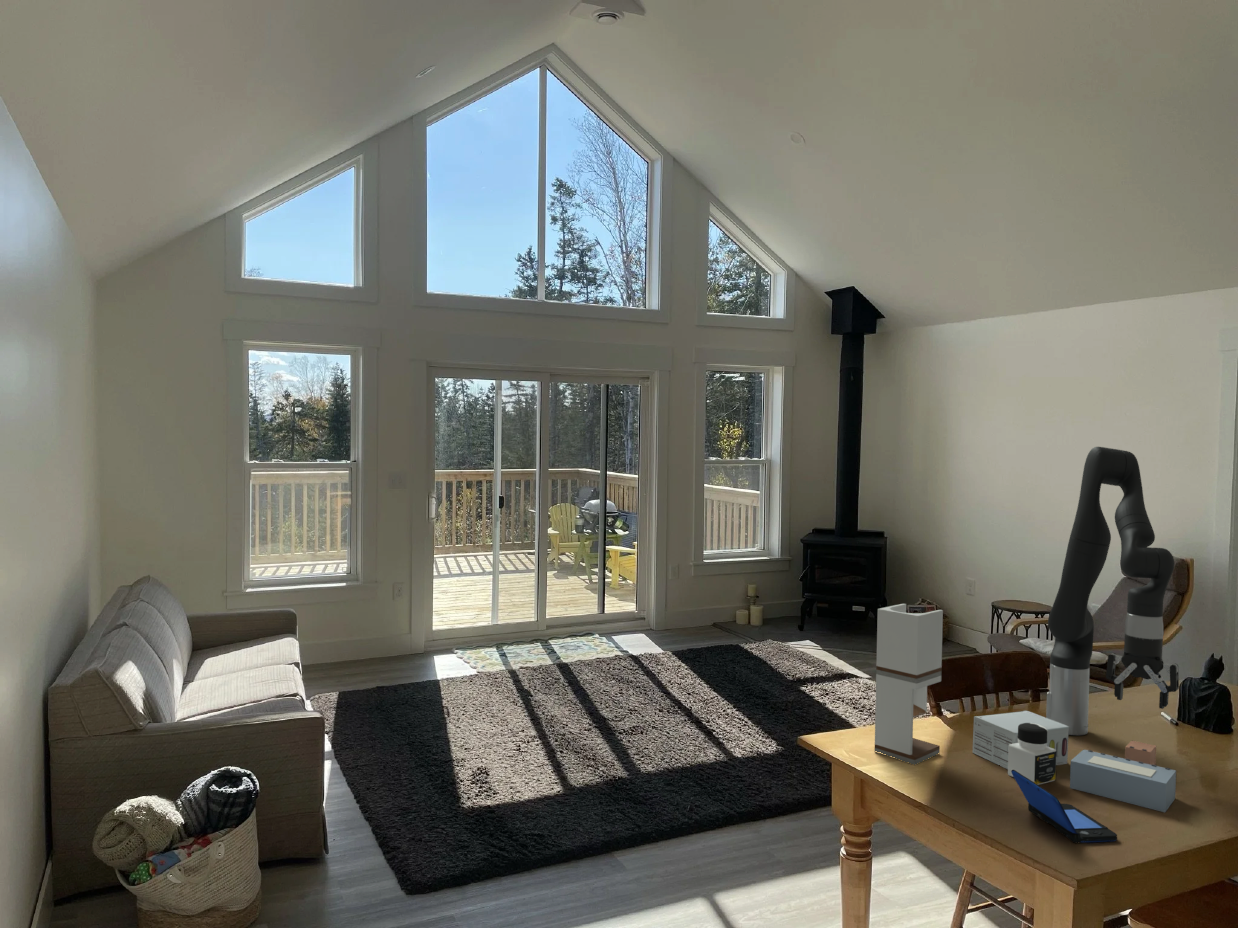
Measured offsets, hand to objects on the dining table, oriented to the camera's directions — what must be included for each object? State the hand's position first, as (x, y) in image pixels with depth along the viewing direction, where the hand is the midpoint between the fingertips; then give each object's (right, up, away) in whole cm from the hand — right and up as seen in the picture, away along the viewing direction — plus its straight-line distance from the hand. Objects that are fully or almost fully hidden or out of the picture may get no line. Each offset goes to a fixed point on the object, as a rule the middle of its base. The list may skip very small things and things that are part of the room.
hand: (1140, 703), depth 201 cm
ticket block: (-11, -16, -12) cm, 23 cm away
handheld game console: (-33, -17, -29) cm, 47 cm away
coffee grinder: (-50, -15, +10) cm, 54 cm away
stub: (0, -16, 0) cm, 16 cm away
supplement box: (-24, -16, +8) cm, 30 cm away
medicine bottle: (-27, -16, -4) cm, 32 cm away
